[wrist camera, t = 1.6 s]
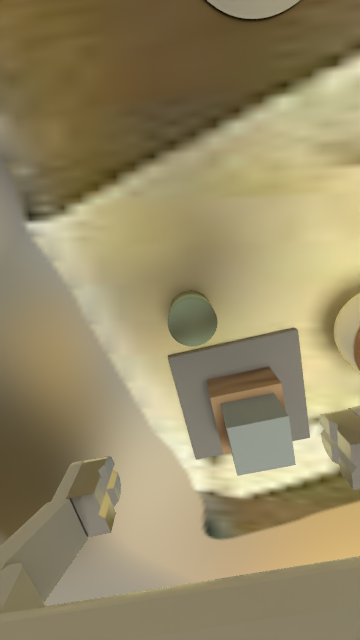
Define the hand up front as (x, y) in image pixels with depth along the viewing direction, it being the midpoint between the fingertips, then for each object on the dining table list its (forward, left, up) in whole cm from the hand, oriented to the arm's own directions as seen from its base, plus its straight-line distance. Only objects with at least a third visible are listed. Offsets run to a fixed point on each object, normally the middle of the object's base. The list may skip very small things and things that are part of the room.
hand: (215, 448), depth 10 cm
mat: (+13, +4, -21) cm, 25 cm away
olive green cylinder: (0, 0, -21) cm, 21 cm away
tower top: (+13, +4, -17) cm, 21 cm away
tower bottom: (+13, +4, -21) cm, 25 cm away
